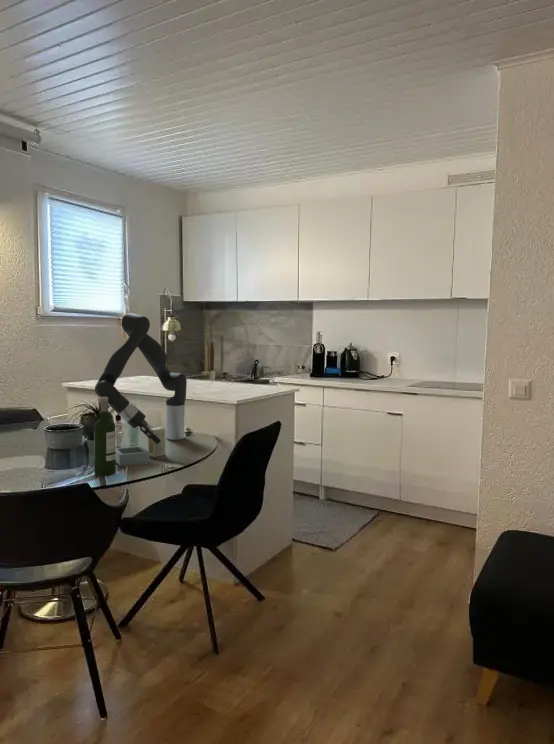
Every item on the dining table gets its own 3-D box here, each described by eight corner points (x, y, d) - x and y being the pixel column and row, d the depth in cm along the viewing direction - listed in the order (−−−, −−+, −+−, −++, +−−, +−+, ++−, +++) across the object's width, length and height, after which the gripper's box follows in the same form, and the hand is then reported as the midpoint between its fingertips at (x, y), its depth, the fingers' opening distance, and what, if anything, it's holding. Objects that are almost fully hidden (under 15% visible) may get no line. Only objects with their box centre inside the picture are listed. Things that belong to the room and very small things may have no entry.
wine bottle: (114, 475, 208) (113, 398, 205) (92, 476, 206) (91, 399, 203) (116, 470, 215) (116, 395, 212) (96, 470, 214) (95, 395, 211)
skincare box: (160, 453, 243) (160, 426, 242) (165, 454, 240) (165, 428, 239) (147, 455, 239) (147, 428, 237) (153, 457, 235) (152, 429, 234)
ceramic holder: (113, 459, 230) (112, 448, 229) (141, 456, 236) (141, 445, 235) (119, 467, 220) (119, 455, 219) (148, 463, 225) (148, 452, 225)
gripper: (138, 412, 228) (165, 437, 232) (138, 406, 242) (164, 430, 246) (125, 424, 228) (153, 450, 232) (126, 418, 241) (152, 442, 245)
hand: (158, 440), depth 239 cm, fingers open, 8 cm apart
